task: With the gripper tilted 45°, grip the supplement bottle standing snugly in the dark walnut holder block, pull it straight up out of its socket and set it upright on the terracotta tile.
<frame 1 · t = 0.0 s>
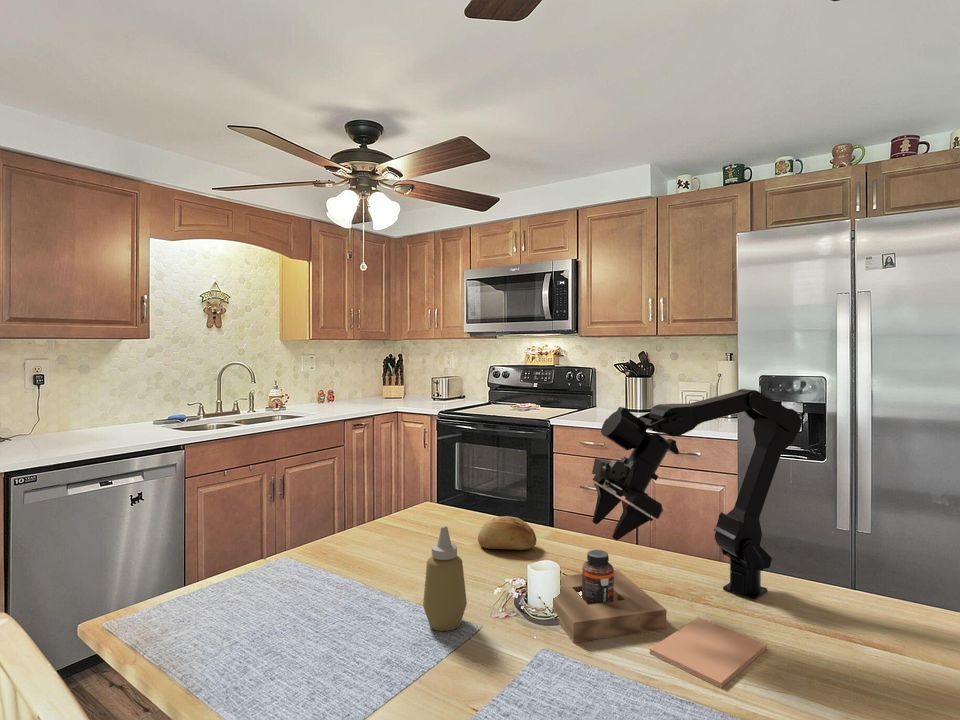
hand: (604, 530, 105), 15 cm above the table, tool tilted 35°, fingers open, 9 cm apart
walnut holder: (597, 611, 104), on the table
supplement bottle: (597, 612, 104), resting in walnut holder
bread roll: (506, 549, 137), on the table
terracotta tile: (708, 651, 90), on the table
squeeze bottle: (445, 624, 100), on the table
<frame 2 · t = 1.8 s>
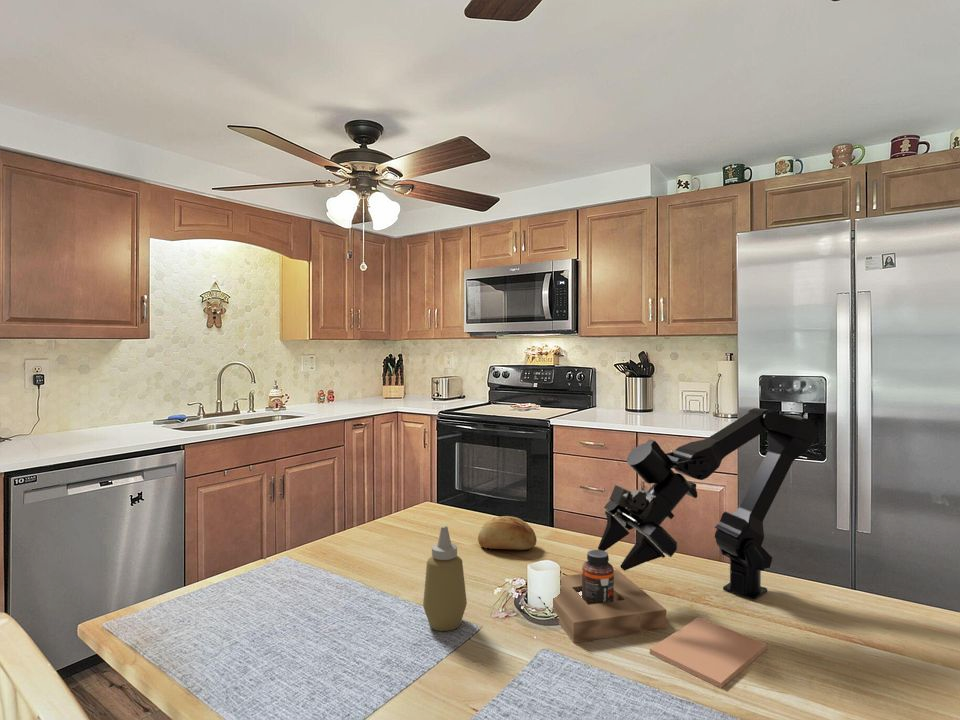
hand: (610, 559, 104), 10 cm above the table, tool tilted 45°, fingers open, 9 cm apart
nothing on the table moved.
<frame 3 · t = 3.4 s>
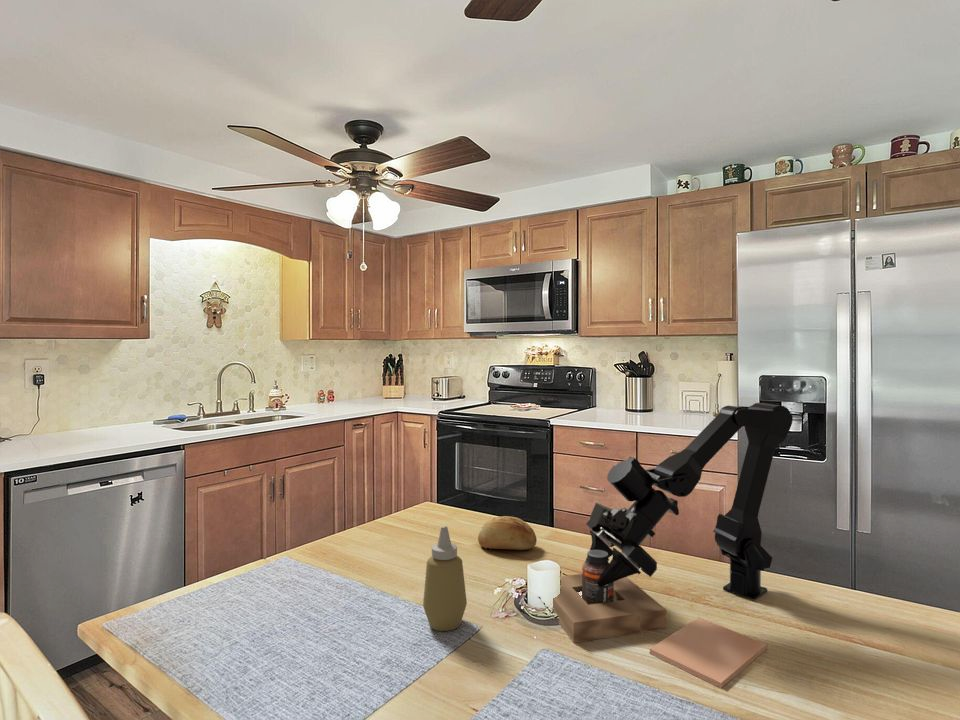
hand: (591, 578, 103), 7 cm above the table, tool tilted 45°, fingers closed on supplement bottle, 6 cm apart
supplement bottle: (597, 612, 104), resting in walnut holder, touching gripper
everything else where it was.
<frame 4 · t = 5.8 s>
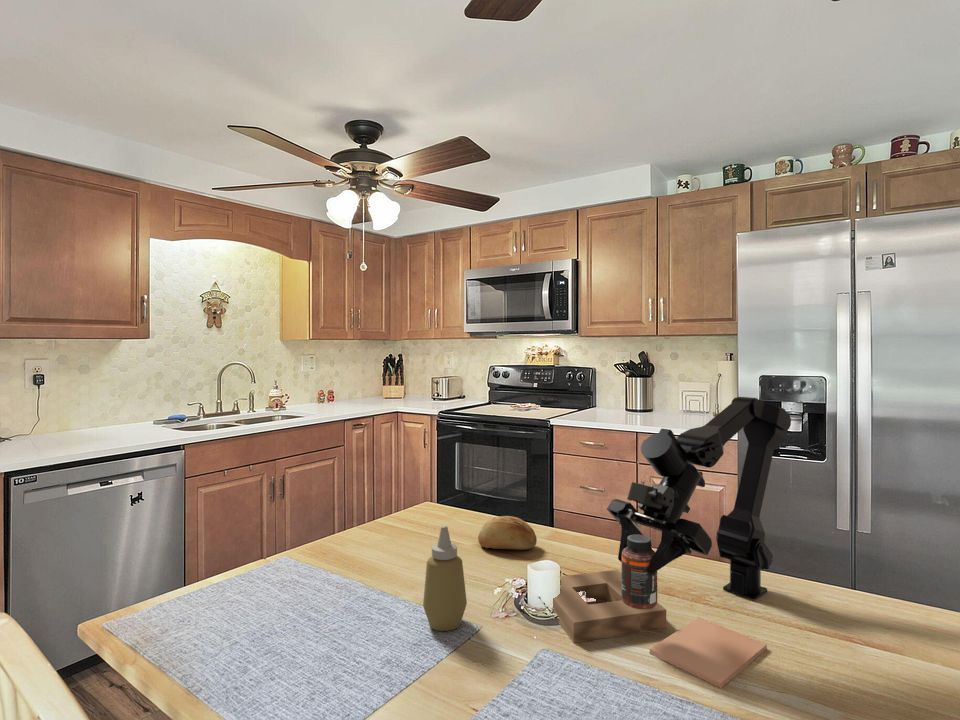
hand: (634, 566, 92), 13 cm above the table, tool tilted 45°, fingers closed on supplement bottle, 6 cm apart
supplement bottle: (639, 603, 93), point 6 cm above the table, touching gripper
everything else where it was.
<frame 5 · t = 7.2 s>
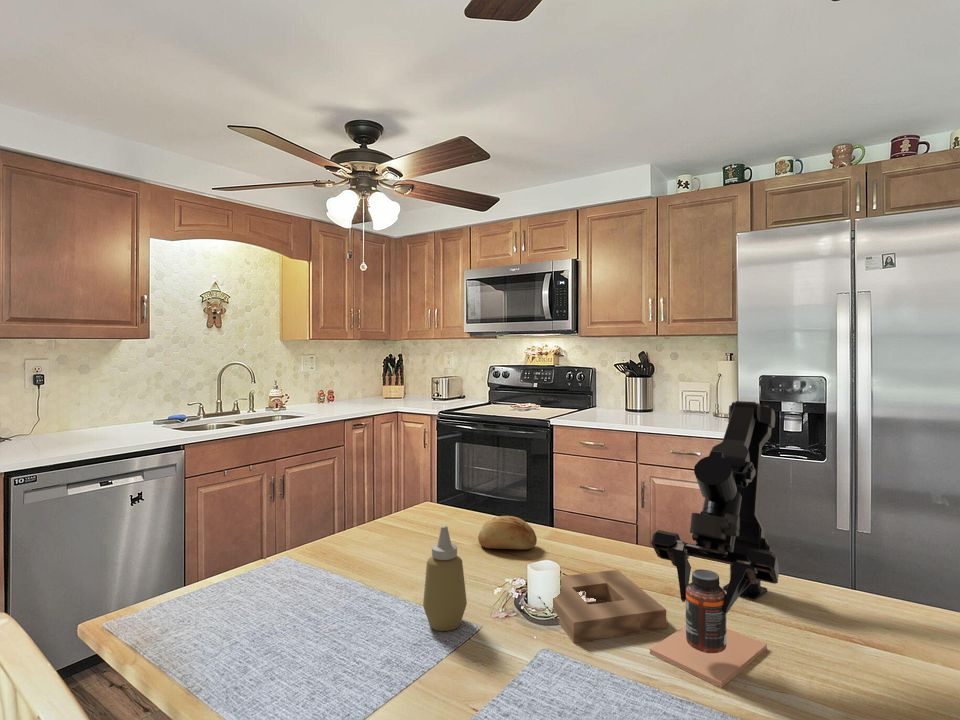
hand: (703, 606, 84), 10 cm above the table, tool tilted 45°, fingers closed on supplement bottle, 6 cm apart
supplement bottle: (705, 646, 85), point 3 cm above the table, touching gripper
everything else where it was.
when the fingers open (9 cm above the table, at t = 8.5 s): supplement bottle stays where it is, resting on terracotta tile.
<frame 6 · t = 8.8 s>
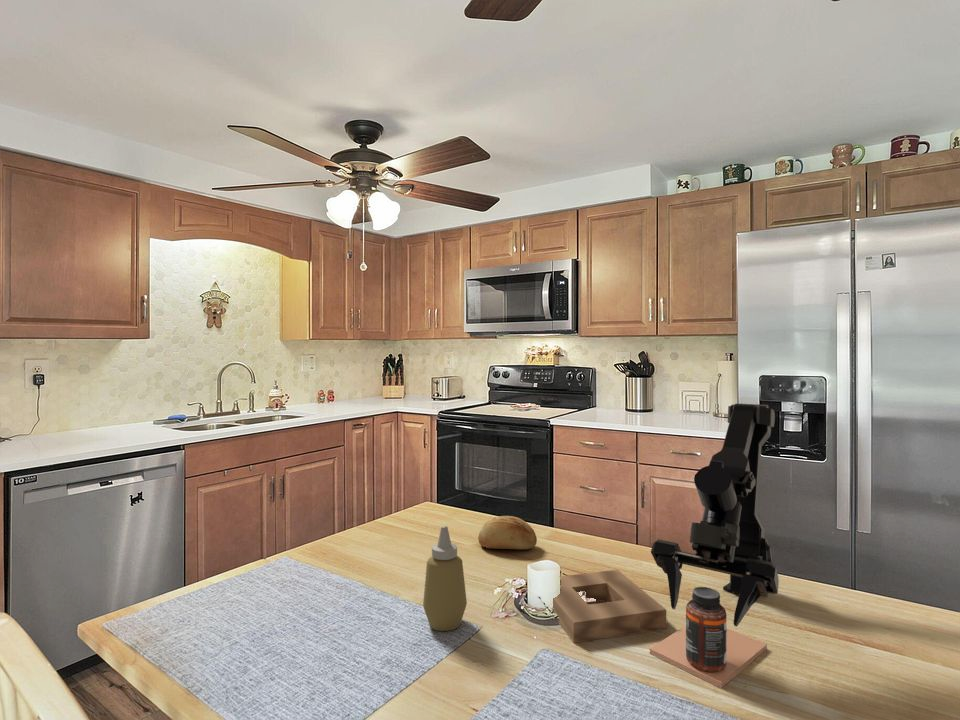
hand: (703, 616, 84), 9 cm above the table, tool tilted 45°, fingers open, 9 cm apart
supplement bottle: (705, 663, 85), point 1 cm above the table, touching terracotta tile
everything else where it was.
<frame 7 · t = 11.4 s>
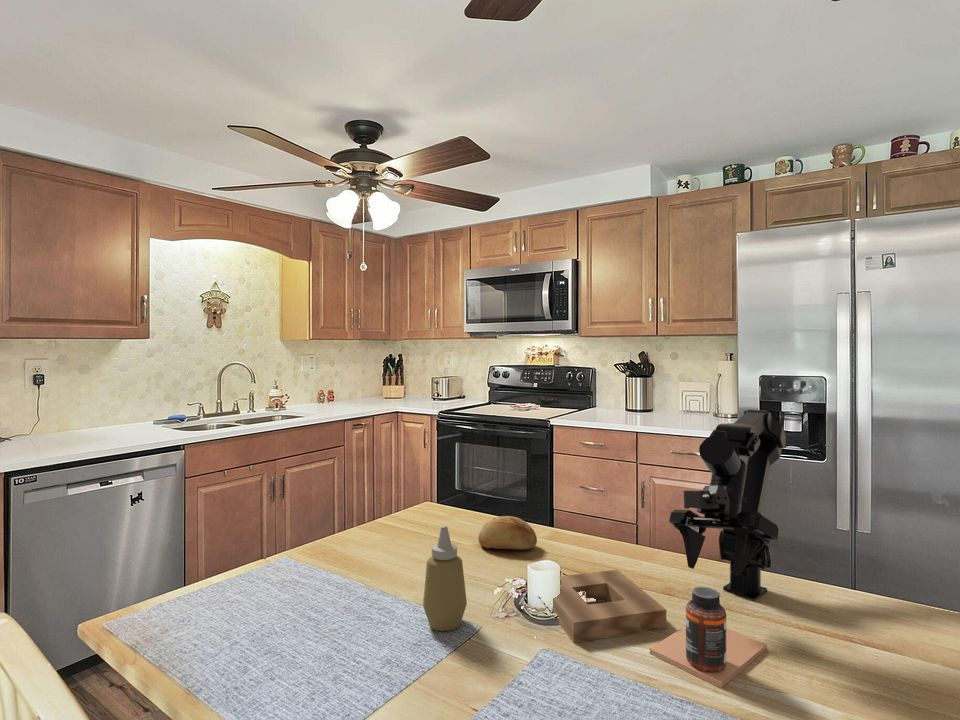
hand: (712, 571, 94), 12 cm above the table, tool tilted 35°, fingers open, 9 cm apart
nothing on the table moved.
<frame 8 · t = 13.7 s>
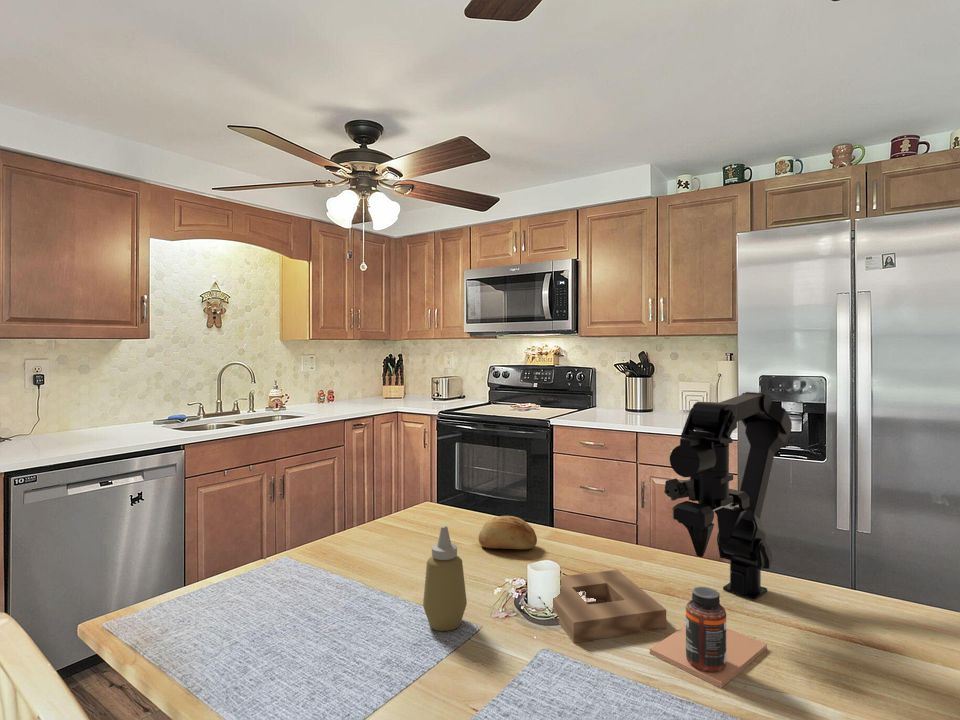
hand: (712, 550, 103), 12 cm above the table, tool pointing down, fingers open, 9 cm apart
nothing on the table moved.
at the end: supplement bottle inside the target area on the terracotta tile (4.6 cm from its centre), point 0.6 cm above the terracotta tile's base; supplement bottle tilted 0°; the gripper is holding nothing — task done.
